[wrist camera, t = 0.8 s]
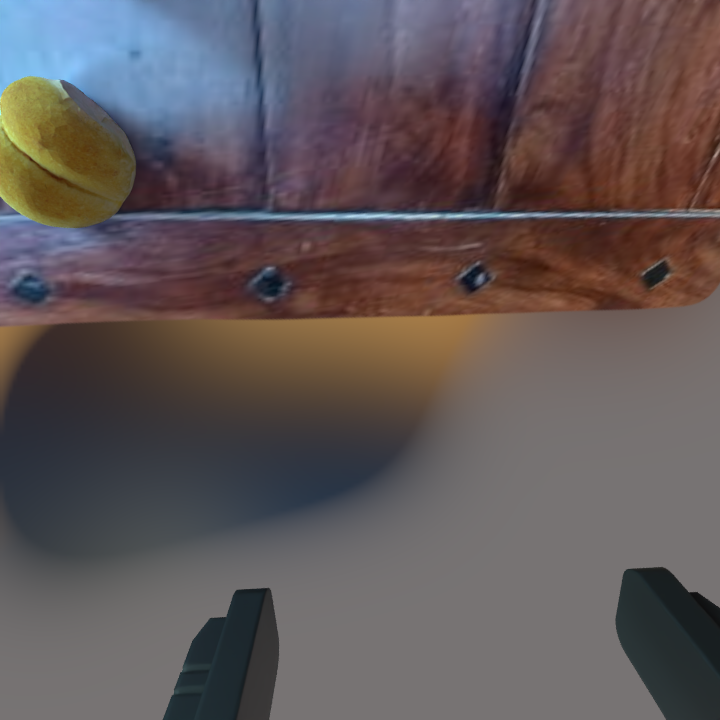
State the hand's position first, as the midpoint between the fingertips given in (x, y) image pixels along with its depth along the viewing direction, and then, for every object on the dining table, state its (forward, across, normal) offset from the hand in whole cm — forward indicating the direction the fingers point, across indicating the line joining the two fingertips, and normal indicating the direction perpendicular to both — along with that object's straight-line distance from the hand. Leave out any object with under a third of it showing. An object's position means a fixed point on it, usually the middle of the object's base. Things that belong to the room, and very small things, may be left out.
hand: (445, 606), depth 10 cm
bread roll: (+25, +21, -14) cm, 35 cm away
